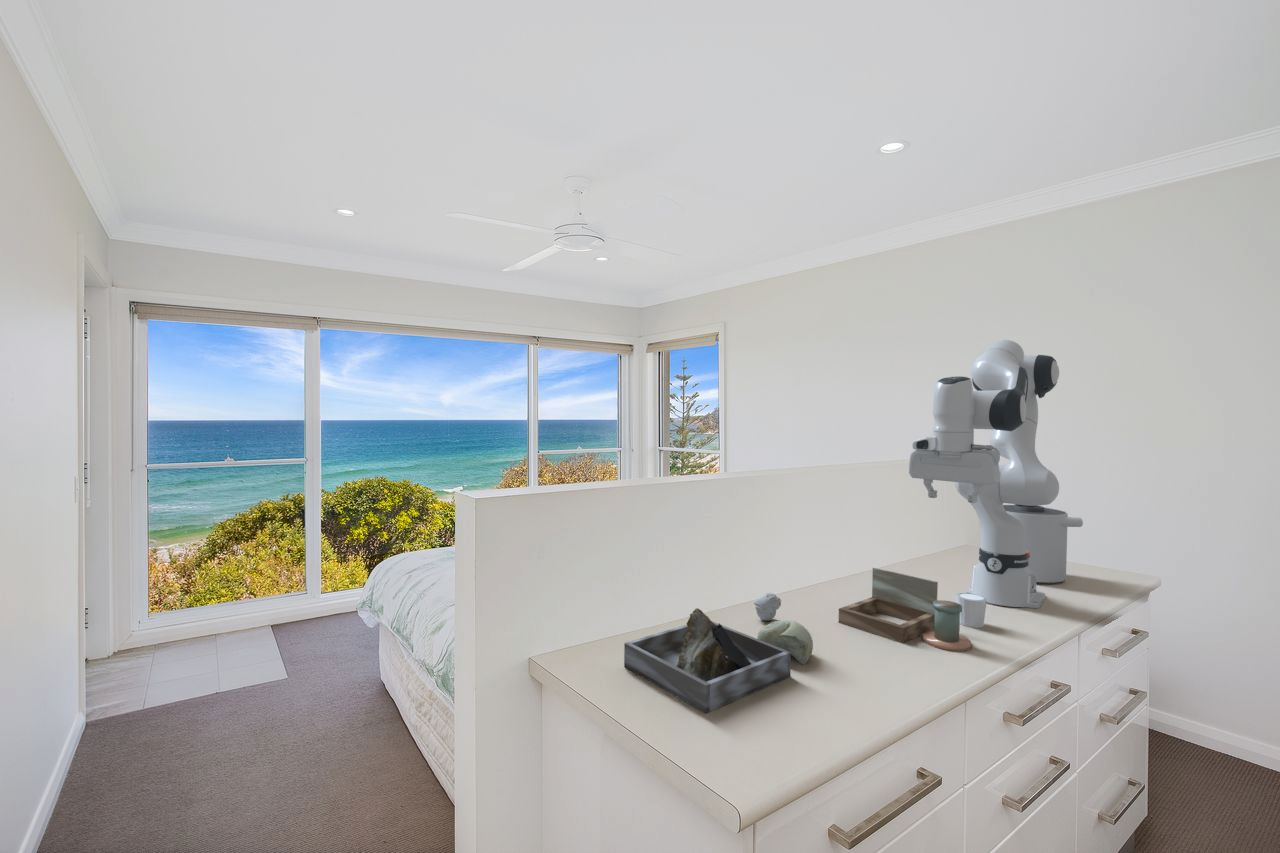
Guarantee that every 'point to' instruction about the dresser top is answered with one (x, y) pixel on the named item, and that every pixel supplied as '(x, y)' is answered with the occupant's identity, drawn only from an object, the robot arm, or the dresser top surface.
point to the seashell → (788, 638)
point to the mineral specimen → (709, 649)
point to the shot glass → (972, 609)
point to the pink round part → (958, 646)
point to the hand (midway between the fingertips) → (952, 499)
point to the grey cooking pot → (1045, 540)
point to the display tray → (659, 664)
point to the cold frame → (894, 606)
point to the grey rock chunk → (767, 606)
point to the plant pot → (947, 620)
